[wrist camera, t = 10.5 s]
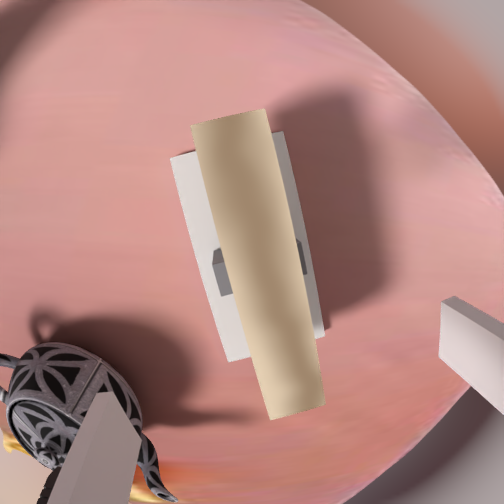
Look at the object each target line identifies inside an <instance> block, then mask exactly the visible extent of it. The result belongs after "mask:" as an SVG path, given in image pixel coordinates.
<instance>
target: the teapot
mask: <svg viewBox="0 0 504 504" xmlns="http://www.w3.org/2000/svg"><path fill="white" fill-rule="evenodd" d="M0 366H4V367H9V368H13V369H14V371H13V373H12V377H11V380H10V384H9V390H8V392H7V391H6V390H4V389H3V388H2V387H1V386H0V400H1V401H2V402H4V403H5V404H6V405H7V408H6V416H7V421H8V424H9V427H10V429H11V431H12V433H13V435H14V436H15V438H16V439H17V441H18V442H19V443H20V444H21V446H22V447H23V448H24V449H25V450H26V451H27V452H28V453H29V454H30V455H31V456H32V457H34V458H35V459H36V460H37V461H39V462H40V463H41V464H42V465H44V466H45V467H47V468H50V469H51V470H54V469H55V468H56V467H57V466H59V467H62V466H63V464H64V461H65V459H66V457H67V455H68V452H69V450H70V448H71V446H72V443H73V441H74V439H75V437H76V435H77V433H78V430H79V428H80V426H81V424H82V422H83V420H84V418H85V416H86V414H87V412H88V410H89V408H90V405H91V403H92V401H93V399H94V397H95V395H96V393H103V392H111V391H113V392H114V394H115V396H116V398H117V400H118V401H119V403H120V405H121V407H122V408H123V410H124V412H125V414H126V415H127V417H128V419H129V420H130V422H131V424H132V425H133V427H134V429H135V430H136V432H137V433H138V435H139V436H140V438H141V440H142V442H141V446H140V450H139V455H138V459H137V464H138V465H139V467H140V468H141V470H142V472H143V474H144V478H145V481H146V483H147V485H148V487H149V489H150V490H151V491H152V492H153V493H154V494H155V495H156V496H158V497H160V498H162V499H164V500H167V501H170V502H178V499H177V498H176V497H175V496H173V495H172V494H171V493H170V492H169V491H168V490H167V489H166V488H165V487H164V485H163V483H162V481H161V478H160V473H159V466H158V458H157V453H156V450H155V448H154V446H153V444H152V443H151V441H150V440H149V439H148V438H147V437H146V436H145V435H144V434H143V433H142V432H141V431H142V423H143V422H142V412H141V408H140V405H139V402H138V400H137V398H136V396H135V394H134V392H133V390H132V389H131V387H130V386H129V385H128V383H127V382H126V381H125V379H124V378H123V377H122V376H121V375H120V374H119V373H118V372H117V371H116V370H115V369H114V368H113V367H112V366H111V365H109V364H108V363H107V362H106V361H104V360H103V359H101V358H100V357H98V356H96V355H95V354H93V353H91V352H89V351H87V350H85V349H83V348H80V347H77V346H74V345H70V344H66V343H59V342H49V343H43V344H39V345H37V346H34V347H32V348H31V349H29V350H28V351H27V352H26V353H25V354H24V355H23V356H22V357H21V358H20V359H19V358H16V357H13V356H10V355H6V354H1V353H0Z"/></svg>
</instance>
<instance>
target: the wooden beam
mask: <svg viewBox="0 0 504 504" xmlns="http://www.w3.org/2000/svg"><path fill="white" fill-rule="evenodd" d="M190 127H191V131H192V136H193V140H194V144H195V148H196V152H197V156H198V161H199V165H200V169H201V173H202V177H203V181H204V185H205V189H206V193H207V197H208V201H209V204H210V208H211V212H212V216H213V220H214V224H215V228H216V232H217V235H218V239H219V243H220V247H221V250H222V254H223V258H224V262H225V265H226V269H227V273H228V276H229V280H230V284H231V287H232V291H233V295H234V298H235V302H236V305H237V309H238V313H239V316H240V320H241V323H242V327H243V330H244V334H245V337H246V341H247V344H248V348H249V351H250V354H251V358H252V361H253V365H254V368H255V371H256V375H257V378H258V382H259V385H260V388H261V392H262V395H263V398H264V401H265V405H266V408H267V411H268V415H269V418H270V420H273V419H277V418H281V417H285V416H289V415H292V414H296V413H300V412H303V411H307V410H310V409H313V408H316V407H320V406H323V405H326V403H325V397H324V390H323V384H322V378H321V371H320V365H319V359H318V353H317V348H316V342H315V336H314V331H313V325H312V319H311V314H310V309H309V303H308V298H307V293H306V288H305V283H304V277H303V272H302V267H301V262H300V258H299V253H298V248H297V243H296V238H295V234H294V229H293V224H292V220H291V215H290V211H289V206H288V202H287V197H286V193H285V189H284V184H283V180H282V176H281V171H280V167H279V163H278V159H277V155H276V151H275V146H274V142H273V138H272V134H271V130H270V126H269V122H268V119H267V115H266V111H265V109H259V110H254V111H249V112H245V113H240V114H235V115H231V116H226V117H222V118H218V119H214V120H210V121H206V122H202V123H198V124H194V125H190Z"/></svg>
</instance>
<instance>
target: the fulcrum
mask: <svg viewBox="0 0 504 504" xmlns="http://www.w3.org/2000/svg"><path fill="white" fill-rule="evenodd" d="M271 134H272V138H273V142H274V146H275V151H276V155H277V159H278V163H279V167H280V171H281V176H282V180H283V184H284V189H285V193H286V197H287V202H288V206H289V211H290V215H291V220H292V224H293V229H294V234H295V238H296V243H297V248H298V253H299V258H300V262H301V267H302V272H303V277H304V283H305V288H306V293H307V298H308V303H309V309H310V314H311V319H312V325H313V331H314V336H315V339H318V338H321V337H324V336H325V332H324V326H323V320H322V314H321V308H320V303H319V297H318V291H317V286H316V280H315V275H314V269H313V264H312V259H311V254H310V249H309V244H308V239H307V234H306V229H305V224H304V219H303V215H302V210H301V205H300V201H299V196H298V192H297V187H296V183H295V178H294V174H293V170H292V165H291V161H290V157H289V153H288V149H287V145H286V141H285V137H284V133H283V131H281V132H275V133H271ZM170 161H171V165H172V169H173V173H174V177H175V181H176V185H177V189H178V193H179V197H180V201H181V205H182V209H183V212H184V216H185V220H186V224H187V227H188V231H189V235H190V238H191V242H192V245H193V249H194V253H195V256H196V260H197V263H198V267H199V270H200V273H201V277H202V280H203V284H204V287H205V290H206V294H207V297H208V300H209V303H210V307H211V310H212V313H213V316H214V320H215V323H216V326H217V329H218V332H219V335H220V338H221V341H222V345H223V348H224V351H225V354H226V357H227V360H228V362H232V361H236V360H240V359H244V358H248V357H251V354H250V351H249V348H248V344H247V341H246V337H245V334H244V330H243V327H242V323H241V320H240V316H239V313H238V309H237V305H236V302H235V298H234V295H233V291H232V287H231V284H230V280H229V276H228V273H227V269H226V265H225V262H224V258H223V254H222V250H221V247H220V243H219V239H218V235H217V232H216V228H215V224H214V220H213V216H212V212H211V208H210V204H209V201H208V197H207V193H206V189H205V185H204V181H203V177H202V173H201V169H200V165H199V161H198V156H197V152H196V151H194V152H190V153H186V154H183V155H179V156H176V157H172V158H170Z"/></svg>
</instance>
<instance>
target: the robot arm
mask: <svg viewBox="0 0 504 504" xmlns="http://www.w3.org/2000/svg"><path fill="white" fill-rule="evenodd" d="M439 358H440V359H441V360H443V361H444V362H445V363H446V364H447V365H448V366H449V367H451V368H452V369H453V370H454V371H455V372H456V373H457V374H459V375H460V376H461V377H462V378H463V379H464V380H465V381H467V382H468V383H469V384H470V385H471V386H472V387H473V388H474V389H476V390H477V391H478V392H479V393H480V394H481V395H482V396H483V397H485V398H486V399H487V400H488V401H489V402H490V403H491V404H492V405H493V406H494V407H496V408H497V409H498V410H499V411H500V412H501V413H502V414H503V415H504V323H502V322H500V321H498V320H497V319H495V318H493V317H491V316H490V315H488V314H486V313H484V312H483V311H481V310H479V309H477V308H476V307H474V306H472V305H470V304H468V303H467V302H465V301H463V300H461V299H459V298H458V297H456V296H453V297H451V298H448V299H446V300H444V301H442V302H441V324H440V344H439ZM141 442H142V440H141V438H140V436H139V435H138V433H137V432H136V430H135V429H134V427H133V425H132V424H131V422H130V420H129V419H128V417H127V415H126V414H125V412H124V410H123V408H122V407H121V405H120V403H119V401H118V400H117V398H116V396H115V394H114V392H113V391H111V392H103V393H96V395H95V397H94V399H93V401H92V403H91V405H90V408H89V410H88V412H87V414H86V416H85V418H84V420H83V422H82V424H81V426H80V428H79V430H78V433H77V435H76V437H75V439H74V441H73V443H72V446H71V448H70V450H69V452H68V455H67V457H66V459H65V461H64V464H63V466H62V467H59V466H57V467H56V468H55V469H54V470H53V472H52V473H51V474H50V475H49V476H48V478H47V480H46V483H45V485H44V489H43V490H42V492H41V494H40V498H39V499H38V501H37V504H128V501H129V496H130V492H131V487H132V482H133V477H134V473H135V468H136V464H137V459H138V455H139V450H140V446H141Z"/></svg>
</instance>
